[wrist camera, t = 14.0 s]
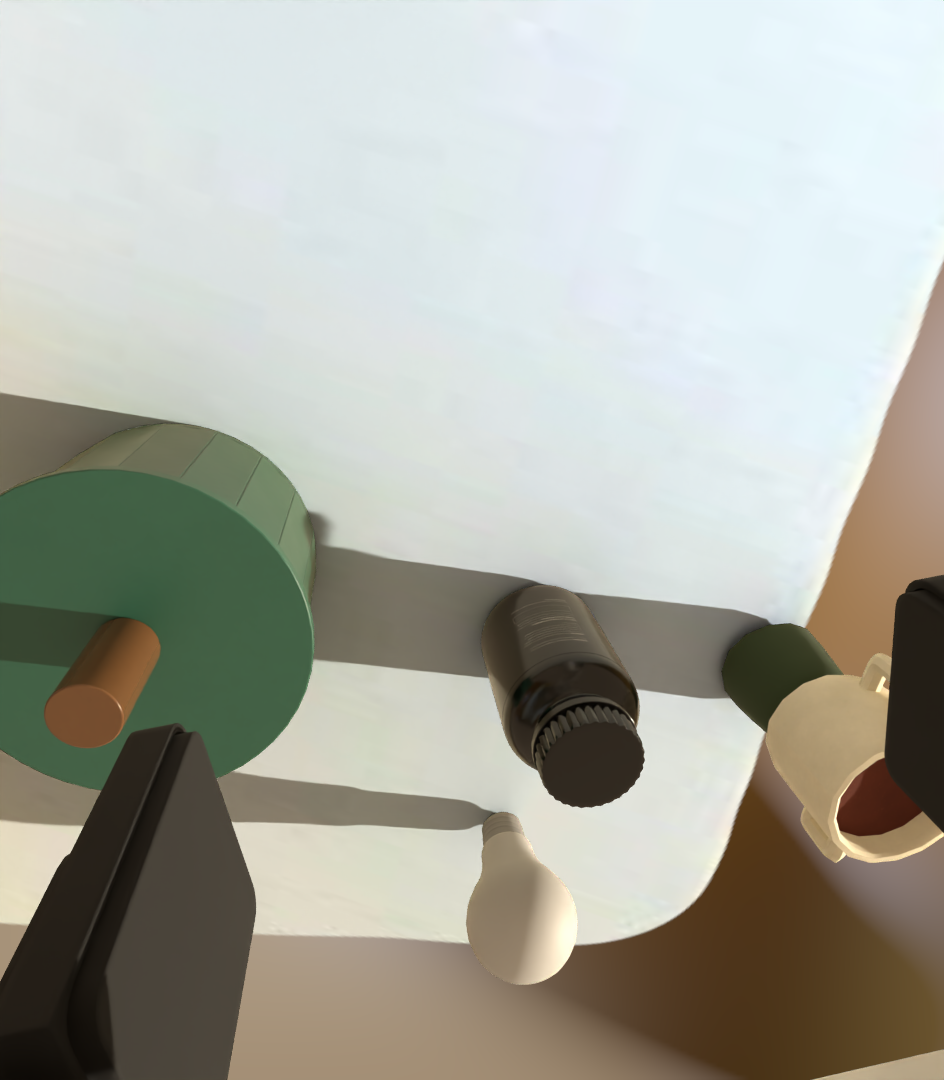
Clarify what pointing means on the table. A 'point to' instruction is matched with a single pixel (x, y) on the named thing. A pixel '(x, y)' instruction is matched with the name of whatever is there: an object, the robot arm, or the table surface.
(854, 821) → the trophy cup
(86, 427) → the table surface
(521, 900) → the lightbulb
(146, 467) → the tin
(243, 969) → the robot arm
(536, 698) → the supplement bottle
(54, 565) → the tin lid
